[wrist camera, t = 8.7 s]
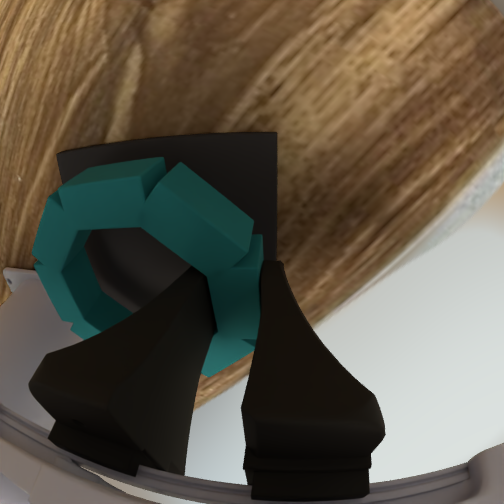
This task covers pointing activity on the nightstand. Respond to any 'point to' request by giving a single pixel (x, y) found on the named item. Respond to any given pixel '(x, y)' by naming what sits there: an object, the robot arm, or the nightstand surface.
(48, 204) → the ring
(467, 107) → the nightstand surface
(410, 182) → the nightstand surface
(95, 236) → the mat
